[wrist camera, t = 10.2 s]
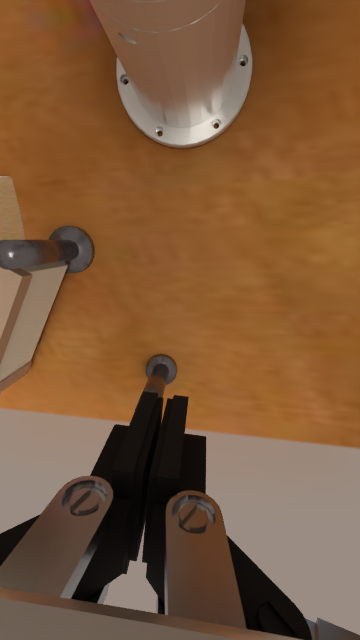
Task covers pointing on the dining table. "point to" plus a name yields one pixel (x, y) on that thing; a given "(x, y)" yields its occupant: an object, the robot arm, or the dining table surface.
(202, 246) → the dining table surface
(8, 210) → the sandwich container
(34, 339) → the panel
